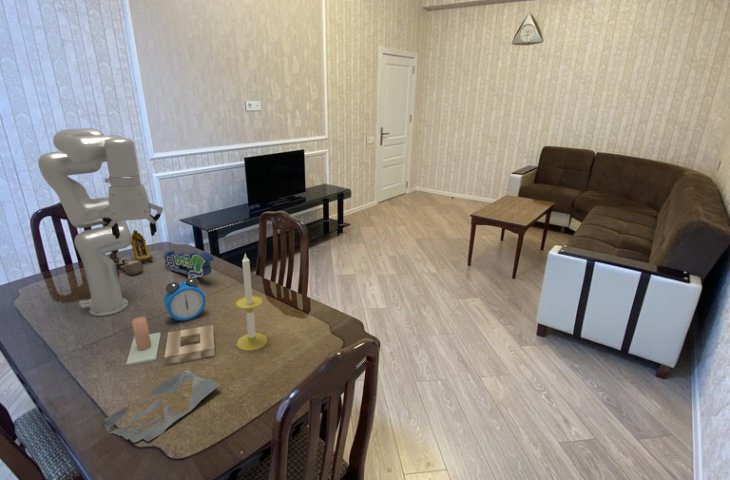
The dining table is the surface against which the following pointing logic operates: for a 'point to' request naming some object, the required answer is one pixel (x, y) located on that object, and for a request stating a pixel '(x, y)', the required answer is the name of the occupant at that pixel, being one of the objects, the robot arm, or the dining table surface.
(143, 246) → the shrine
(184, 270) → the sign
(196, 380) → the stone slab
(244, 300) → the candle
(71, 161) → the robot arm
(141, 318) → the peg
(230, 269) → the dining table surface
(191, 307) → the alarm clock
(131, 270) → the toy
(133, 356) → the mat
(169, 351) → the pocket frame
